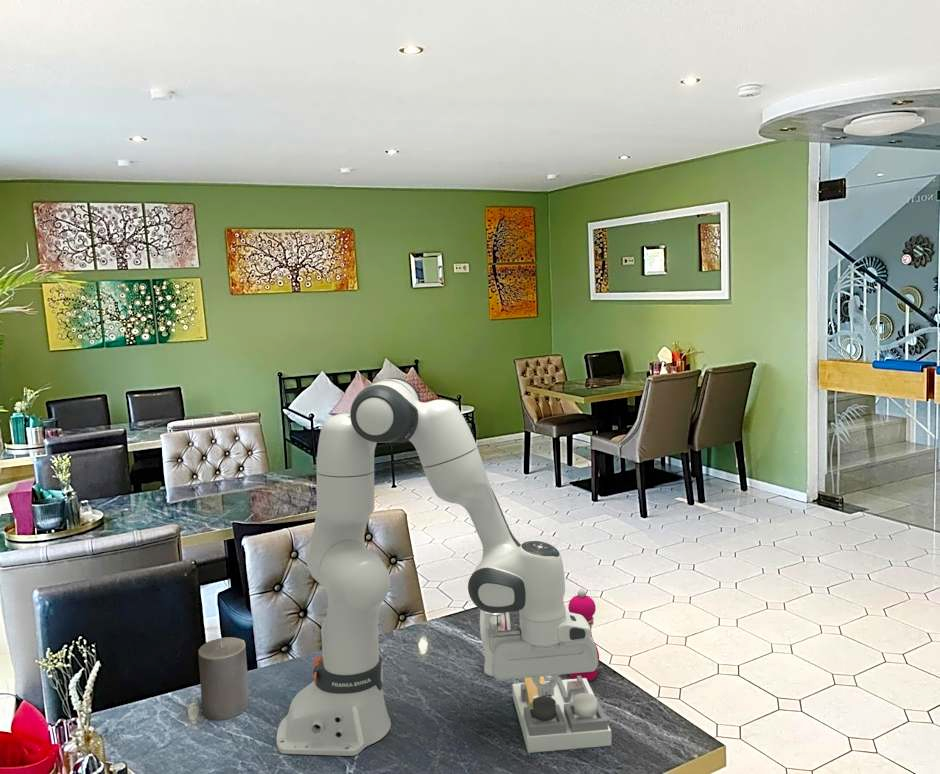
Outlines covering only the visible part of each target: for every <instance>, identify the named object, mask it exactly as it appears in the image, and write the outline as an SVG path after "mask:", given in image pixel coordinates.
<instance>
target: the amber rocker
mask: <svg viewBox="0 0 940 774" xmlns="http://www.w3.org/2000/svg"><path fill="white" fill-rule="evenodd" d="M523 681H524V682H523V683H525V687H526V692H527V697H528V702H529V707H532V706H533V700H534V699H535V698H537V697H539V696H538V691H537V687H536V685H535V684H534V682H533V680H532V677H530V678H523ZM545 681H546V680H545V676H540V681H539V683H540V684H545ZM547 697H548V696H547Z"/></svg>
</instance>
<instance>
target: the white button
mask: <svg viewBox="0 0 940 774" xmlns="http://www.w3.org/2000/svg"><path fill="white" fill-rule="evenodd" d="M597 701H598V700H597V697H596V696H595V694H594V695H592V694H589V693H580V694H577V695H575V696H574V713H575V714H576V715H578V716H580V717H592V716H594V715H596V713H597Z"/></svg>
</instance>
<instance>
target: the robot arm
mask: <svg viewBox="0 0 940 774" xmlns="http://www.w3.org/2000/svg"><path fill="white" fill-rule="evenodd" d="M349 411H350V413H339V414H335V415H332V416H331V417H329V418H326V420H325V421H324V422H323V424H322V425H321V429H320V433H319V438H318V444H317V453H316V510H315V511H316V512H315V518H314V519H315V520H314V524H313V530H312V535H311V540H310V541H309V542H308V544H307V547H306V549H305V555H304V556H305V557H304V558H305V563H306V566H307V569H308V572H309V574H310V575H311V576H312V578H313V579H314V580H315V581H316V582H317V583H318V584H319V585H320V586H321V587H322V588H323V589H324V590H325V593H326V596H327V611H326V615H325V619H324V621H323V623H322V624H321V628H320V632H321V650H322V656H320V655H318V656H316V657H315V658H313V659H314V660H313V664H312V667H313V673H312V674H313V681H312V682H311V683H309V684H308V685H306V686H305V687H304V688H303V689H301V690H300V691H298V693H296V695H295V696H294V698H293V699H292V701H291V703H290V705H289V708H288V713H287V715H286V716H284V717H283V718H282V721H281V722H280V723H279V726H278V728H277V732H276V741H275V743H276V748H277V750H278V752H280V753H281V754H284V755H285V754H286V755H311V756H312V755H313V756H339V757H341V756H342V757H343V756H344V757H345V756H346V757H348V756H349V757H350V756H351V757H354V756H356V755H359V754H360V753H361V752H362V751H363V750H364V749H365V748H367V747H369V746H370V745H372V744H375V743H376V742H378V741H380V740H382V739H383V738H384V737H385V736H386V735H387V734H388V733H389V731H390V730H391V726H392V722H391V718H390V716H389V714H388V710H387V706H386V702H385V697H384V690H383V685H384V671H383V670H384V669H383V668H384V667H383V663H382V657H381V655H380V650H379V649H380V648H379V628H378V627H379V615H380V609H381V605H382V602H383V601H384V600H385V599H386V597H387V596H388V595H389V594H388V593H389V591H390V588H391V582H392V581H391V575H390V571H389V570H388V568H387V566H386V565H385V563H384V561H383V560H382V559H381V557H380V556H379V555H378V554H376V553H375V552H374V551H372V550H371V549H369V548H368V547H367V545H366V543H365V534H366V528H367V524H368V520H369V518H370V516H371V515H372V514H373V512H374V511H375V450H376V448H377V447H376V446H377V444H378V443H379V444H382V443H383V444H389V443H406V442H408V441H409V442H410V443H411V444H412V445H413V446H414V448H415V450H416V453H417V455H418V457H419V461H420V463H421V466H422V469H423V472H424V474H425V477H426V480H427V481H428V484H429V486H430V487H431V490H432V491H433V492H434V494H435V495H436V496H437V497H438V498H439V499H441V500H442V501H444V502H446V503H450V504H456V505H459V506H461V507H463V509H465V510H466V512H467V513H468V515H469V517H470V520H471V521H472V524H473V526H474V528H475V531H476V533H477V535H478V538H479V540H480V543H481V544H482V559H481V560H480V562H479V563H478V564H477V566H476V567H475V569H474V571H473V572H472V573H471V575H470V577H469V579H468V583H467V591H468V595H469V598H470V600H471V602H472V603H473V604H474V605H475V606H476V607H477V608H478V609H479V610H480V609H481V610H483V611H485V612H488V613H507V612H509V613H514V612H518V615H519V628H512V629H511V628H510V630H499V631H497V633H495V634H493V635H492V636H491V637H490V639H489V647H490V650H491V652H492V672H493V676H494V677H493V678H495V679H496V680H497V681H506V680H518V679H519V680H520V679H524V678H530V677H532V680H533V682H534V684H535V685H536V687H537V691H538V696H539V697H544V696H554V687H555V686H556V684H557V682H558V681H559V677H560V676H561V675H569V674H571V673H582V672H593V671H595V670H596V668H597V669H598V666H599V661H598V657H597V650H596V646H597V645H596V646H595V644H596V642H595V641H593V640H594V638H593V636H592V637H591V633H592V628H591V629H590V626H589V624H588V622H587V621H586V619H585V618H584V617H583V616H582V615H580V614H576V613H571V612H569V611H567V610H566V606H565V603H564V598H565V592H566V582H565V580H566V579H565V572H564V571H565V569H564V563H563V559H562V555H561V554H560V551H559V550H558V549H557V548H556V547H555V546H553V544H550V543H547V542H545V541H539V540H528V541H525V542H523V543H520V542H519V541H518V539H516V537H515V536H514V534H513V533H512V531H511V529H510V527H509V523H508V522H507V519H506V517H505V515H504V513H503V510H502V508H501V506H500V503H499V501H498V499H497V496H496V495H495V492H494V490H493V487H492V486H491V483H490V480H489V478H488V475H487V472H486V469H485V466H484V463H483V460H482V457H481V454H480V451H479V448H478V446H477V443H476V440H475V438H474V436H473V433H472V431H471V429H470V427H469V425H468V423H467V421H466V419H465V417H464V415H463V414H462V412H461V410H460V408H459V407H458V406H457V404H455V403H454V402H453V401H451V400H447V399H433V400H431V401H426V402H422V399H421V396H420V393H419V391H418V390H417V388H416V386H414V385H413V384H412V383H411V382H409V381H408V380H406V379H403V378H399V377H390V378H389V377H388V378H386V379H381V380H377V381H374V382H373V383H371V384H370V385H368V386H367V387H365V388H364V389H362V390H361V391H359V393H358V394H357V395H356V396H355V397H354V399H353V401H352V405H351V406H350V410H349ZM495 635H497V636H495ZM592 638H593V639H592ZM594 642H595V643H594ZM540 676H544V677H548V676H550V680H548V681H549V683H548V684H540V683H539V681H540Z"/></svg>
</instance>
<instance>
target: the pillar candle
mask: <svg viewBox="0 0 940 774" xmlns="http://www.w3.org/2000/svg"><path fill="white" fill-rule="evenodd" d="M246 650H247V649H246V641H245V640H244V639H241V638H237V637H230V636H229V637H219V638H215V639H213V640H210V641H208V642H205V643H204V644H203V645H201V646H200V647H199V649H198V667H199V679H200V681H199V682H200V683H199V684H200V697H201V710H202V715H203V716H204V717H205V718H207V719H209V720H212V721H213V720H214V721H224V720H229V719H233V718H236V717H237V716H239V715H241V714H243V713H244V712H246V711H247V709H248V707H249V705H250V691H249V677H248V676H249V675H248V664H247V663H248V662H247V651H246Z"/></svg>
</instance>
